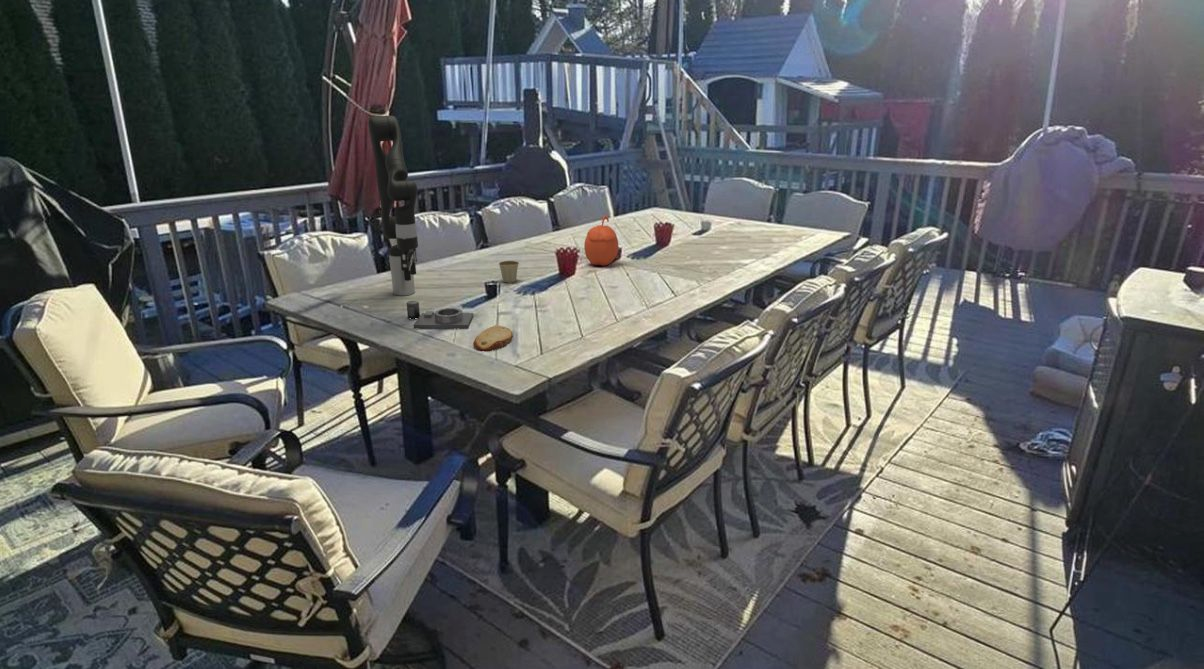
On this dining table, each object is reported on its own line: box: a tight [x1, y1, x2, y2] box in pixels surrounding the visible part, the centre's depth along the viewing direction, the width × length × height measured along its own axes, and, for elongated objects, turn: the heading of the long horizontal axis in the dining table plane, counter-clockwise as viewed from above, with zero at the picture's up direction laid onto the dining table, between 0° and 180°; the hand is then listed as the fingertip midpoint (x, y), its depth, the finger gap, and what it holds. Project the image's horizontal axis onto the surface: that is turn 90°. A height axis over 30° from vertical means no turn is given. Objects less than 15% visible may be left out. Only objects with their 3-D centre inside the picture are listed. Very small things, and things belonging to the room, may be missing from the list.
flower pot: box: [498, 260, 520, 284], centre depth 302 cm, size 9×9×9 cm
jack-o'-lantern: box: [584, 215, 619, 267], centre depth 330 cm, size 18×17×25 cm
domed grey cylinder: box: [406, 300, 421, 320], centre depth 253 cm, size 6×5×6 cm
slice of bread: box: [472, 325, 514, 352], centre depth 231 cm, size 18×18×4 cm
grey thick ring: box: [434, 307, 464, 324], centre depth 247 cm, size 10×10×3 cm
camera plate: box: [413, 310, 475, 330], centre depth 248 cm, size 14×20×3 cm
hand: (410, 277), depth 248 cm, fingers open, 8 cm apart
